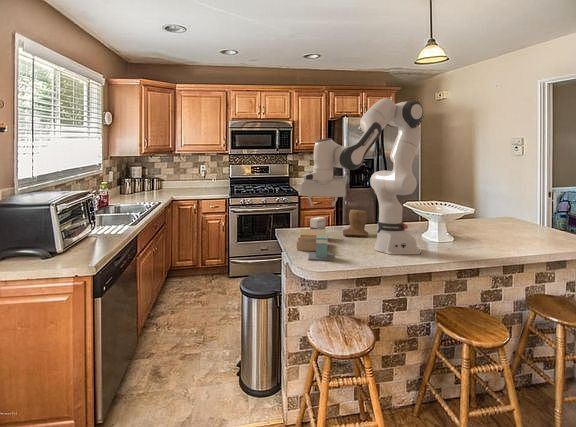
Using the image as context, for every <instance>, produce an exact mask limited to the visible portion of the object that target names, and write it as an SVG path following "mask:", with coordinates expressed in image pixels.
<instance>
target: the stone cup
mask: <svg viewBox="0 0 576 427" xmlns="http://www.w3.org/2000/svg"><path fill="white" fill-rule="evenodd" d="M348 218H349V219H348V221H349V228H347V229H345V228H344V229H342V236H350V237H359V236H360V237H362V236H369V232H368V231H366V230H365V226H366V224H367V221H368V212H367V211H366V210H358V209H350V211H349V214H348Z"/></svg>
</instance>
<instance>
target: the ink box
mask: <svg viewBox="0 0 576 427" xmlns="http://www.w3.org/2000/svg"><path fill="white" fill-rule="evenodd" d="M326 219H327V218H326V217H322V216H317V217H311V218H310V220H309V221H310V222H309V223H310V226H309V228H310V229H317V230H326V225H327V224H326V223H327V222H326V221H327V220H326Z"/></svg>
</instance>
